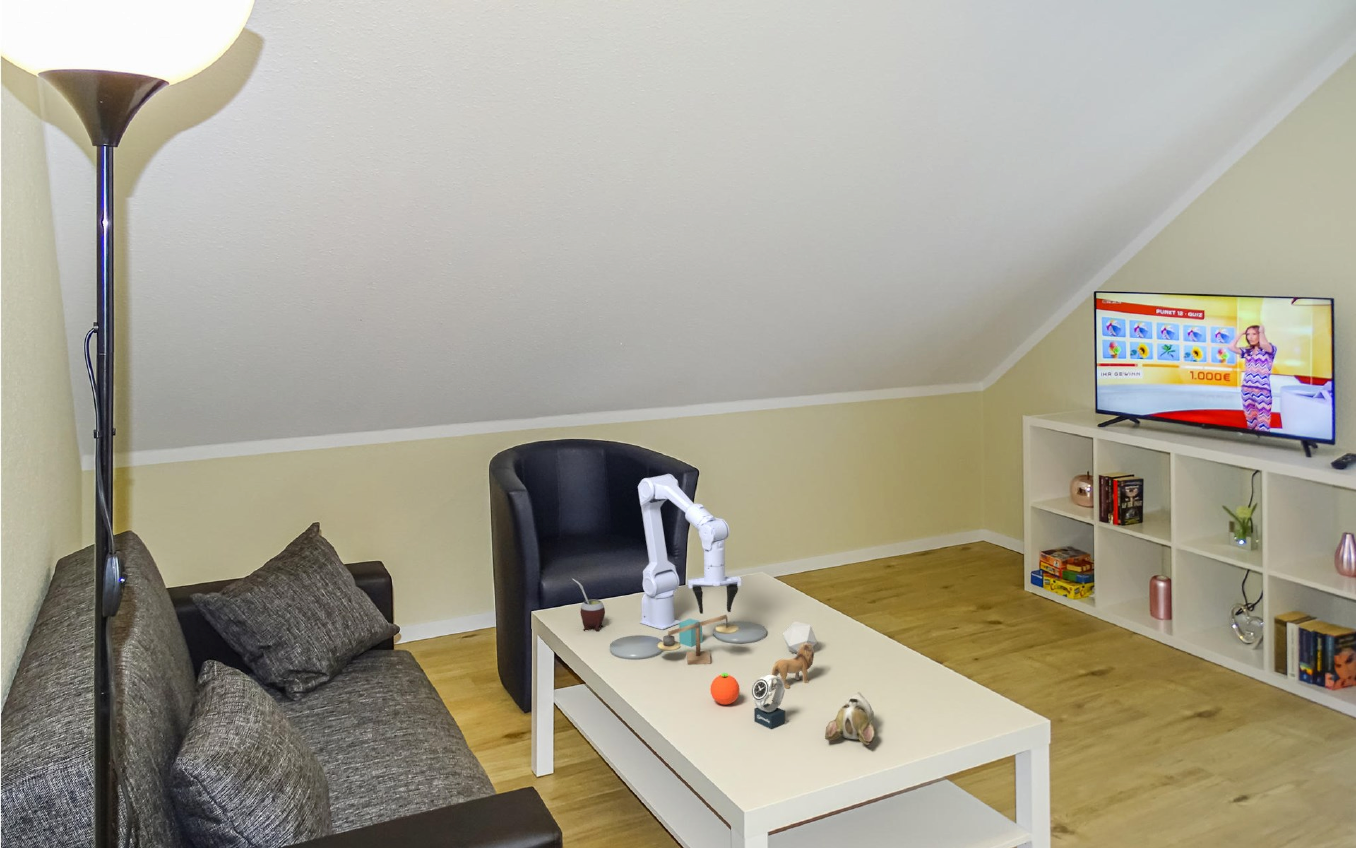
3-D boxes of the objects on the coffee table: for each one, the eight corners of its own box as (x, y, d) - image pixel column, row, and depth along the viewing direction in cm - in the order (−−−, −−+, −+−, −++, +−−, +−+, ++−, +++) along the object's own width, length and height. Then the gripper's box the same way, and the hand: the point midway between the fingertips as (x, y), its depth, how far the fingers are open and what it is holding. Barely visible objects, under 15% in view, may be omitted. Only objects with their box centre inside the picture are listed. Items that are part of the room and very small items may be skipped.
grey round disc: (702, 635, 288) (702, 631, 288) (736, 621, 299) (736, 617, 299) (743, 647, 278) (743, 643, 278) (777, 633, 289) (777, 628, 289)
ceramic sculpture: (882, 687, 228) (871, 719, 214) (883, 723, 229) (872, 757, 216) (835, 682, 231) (821, 713, 218) (836, 718, 233) (822, 750, 219)
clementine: (710, 695, 247) (710, 667, 246) (739, 695, 247) (738, 667, 246) (710, 709, 239) (710, 680, 238) (740, 709, 239) (739, 680, 238)
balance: (658, 665, 267) (657, 621, 265) (657, 657, 273) (656, 613, 271) (739, 662, 267) (739, 618, 266) (737, 654, 273) (736, 611, 271)
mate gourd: (609, 629, 295) (608, 579, 293) (586, 635, 290) (584, 584, 288) (596, 622, 301) (595, 573, 299) (573, 628, 297) (571, 578, 294)
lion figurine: (804, 672, 260) (804, 639, 258) (819, 678, 256) (819, 644, 254) (762, 688, 251) (762, 653, 249) (778, 695, 246) (777, 659, 245)
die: (822, 653, 274) (813, 619, 279) (814, 648, 267) (805, 613, 271) (794, 662, 276) (785, 628, 281) (785, 657, 269) (776, 622, 273)
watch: (748, 724, 231) (747, 677, 229) (773, 714, 236) (773, 668, 234) (765, 732, 227) (765, 685, 225) (790, 721, 232) (790, 675, 230)
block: (679, 643, 282) (679, 622, 282) (690, 639, 286) (689, 618, 285) (691, 647, 279) (691, 626, 278) (702, 642, 283) (701, 622, 282)
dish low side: (598, 650, 278) (598, 646, 278) (637, 635, 289) (637, 631, 289) (637, 663, 268) (636, 659, 268) (676, 648, 279) (675, 643, 279)
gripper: (690, 569, 273) (690, 618, 275) (743, 566, 274) (743, 615, 276) (686, 562, 280) (687, 609, 282) (738, 559, 281) (738, 606, 283)
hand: (714, 611), depth 279 cm, fingers open, 7 cm apart
